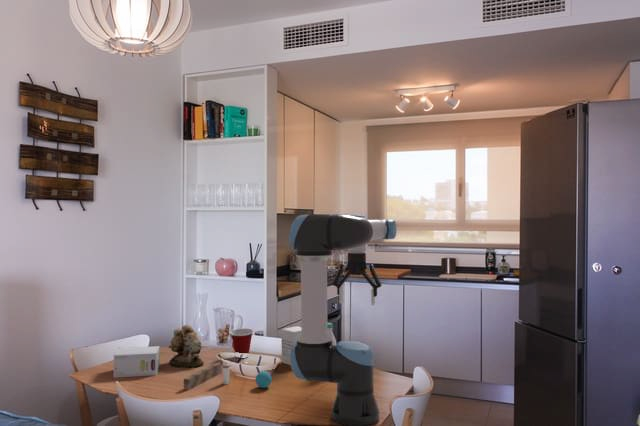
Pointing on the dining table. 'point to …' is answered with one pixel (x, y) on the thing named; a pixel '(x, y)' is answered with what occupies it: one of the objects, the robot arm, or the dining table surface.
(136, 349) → the supplement box
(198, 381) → the stopper wall
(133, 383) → the dining table surface
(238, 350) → the plastic cup
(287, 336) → the supplement box
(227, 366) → the pin
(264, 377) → the ball
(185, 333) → the brown lumpy figure
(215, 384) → the dining table surface
